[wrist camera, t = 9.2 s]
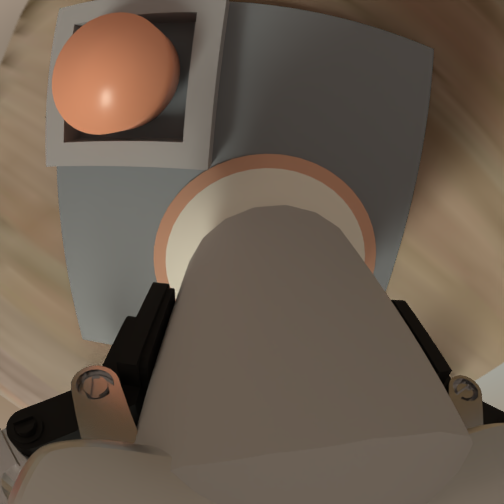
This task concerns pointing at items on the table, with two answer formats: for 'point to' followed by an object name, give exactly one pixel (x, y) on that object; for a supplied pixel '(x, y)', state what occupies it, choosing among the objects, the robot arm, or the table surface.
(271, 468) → the can
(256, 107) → the board
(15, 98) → the table surface
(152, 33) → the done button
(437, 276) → the table surface
